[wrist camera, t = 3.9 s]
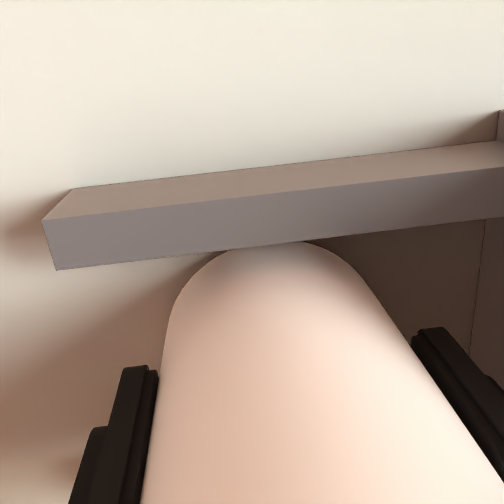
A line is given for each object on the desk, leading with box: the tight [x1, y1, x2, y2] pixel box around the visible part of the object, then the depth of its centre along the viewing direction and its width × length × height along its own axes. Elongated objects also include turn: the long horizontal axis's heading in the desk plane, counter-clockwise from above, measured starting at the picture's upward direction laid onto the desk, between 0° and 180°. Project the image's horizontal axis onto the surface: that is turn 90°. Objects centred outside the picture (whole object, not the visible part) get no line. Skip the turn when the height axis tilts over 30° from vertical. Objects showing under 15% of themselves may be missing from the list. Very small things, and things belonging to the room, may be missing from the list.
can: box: [140, 241, 504, 504], centre depth 9 cm, size 6×6×12 cm
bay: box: [41, 110, 504, 390], centre depth 10 cm, size 12×16×9 cm
